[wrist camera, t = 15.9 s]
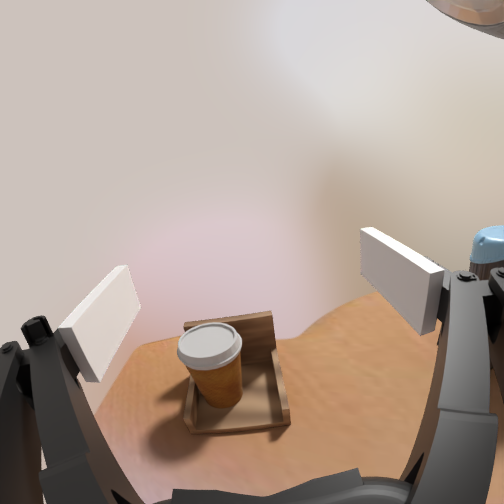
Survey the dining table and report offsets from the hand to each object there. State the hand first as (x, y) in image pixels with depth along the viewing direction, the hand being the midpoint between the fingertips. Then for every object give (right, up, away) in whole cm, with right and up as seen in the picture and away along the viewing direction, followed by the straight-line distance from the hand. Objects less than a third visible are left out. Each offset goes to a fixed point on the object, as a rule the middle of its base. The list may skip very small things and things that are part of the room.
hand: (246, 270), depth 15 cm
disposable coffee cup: (-4, -23, +27) cm, 35 cm away
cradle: (-2, -23, +28) cm, 36 cm away
